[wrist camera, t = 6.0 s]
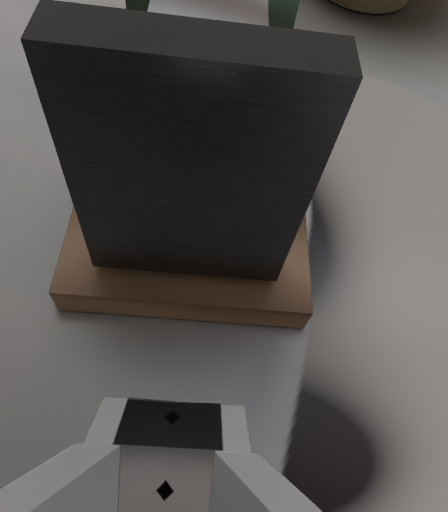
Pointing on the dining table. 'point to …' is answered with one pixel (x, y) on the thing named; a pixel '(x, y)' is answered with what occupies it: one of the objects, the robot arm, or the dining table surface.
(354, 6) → the plant pot
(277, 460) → the dining table surface
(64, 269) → the tube housing
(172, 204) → the upright dark gray slab
